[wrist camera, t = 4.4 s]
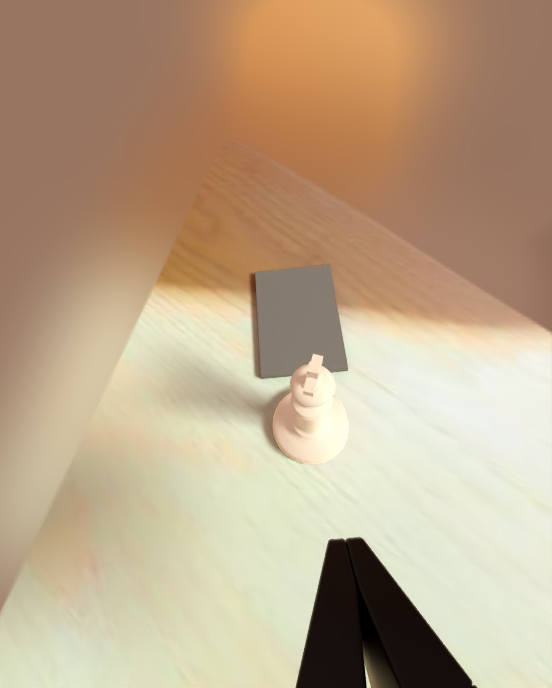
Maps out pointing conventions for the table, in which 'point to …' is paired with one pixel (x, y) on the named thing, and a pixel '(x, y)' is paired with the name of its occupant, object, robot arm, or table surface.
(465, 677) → the robot arm
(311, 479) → the table surface
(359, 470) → the table surface
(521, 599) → the table surface
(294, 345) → the slate mat
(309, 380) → the chess piece
